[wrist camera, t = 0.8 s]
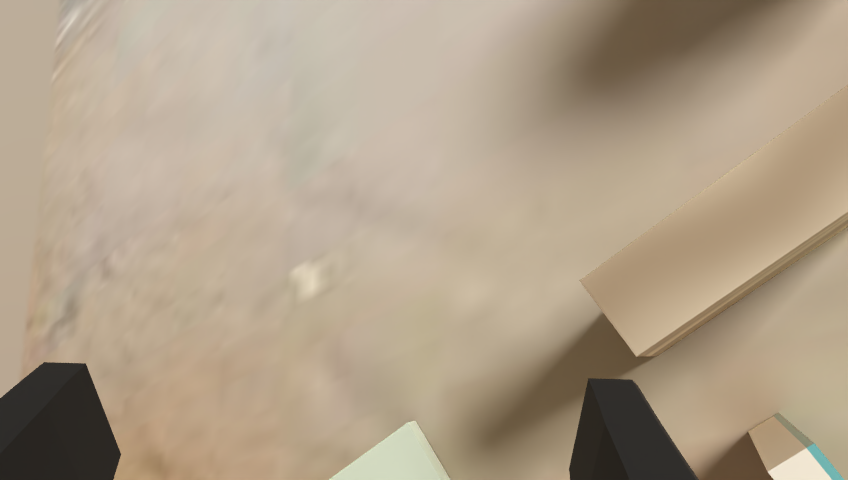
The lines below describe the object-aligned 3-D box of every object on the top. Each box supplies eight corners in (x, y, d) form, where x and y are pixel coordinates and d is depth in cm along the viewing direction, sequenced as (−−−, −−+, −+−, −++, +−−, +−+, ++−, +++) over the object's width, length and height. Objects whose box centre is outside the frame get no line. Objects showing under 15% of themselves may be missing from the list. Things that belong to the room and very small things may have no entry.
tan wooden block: (878, 205, 23) (955, 138, 16) (657, 355, 25) (636, 356, 18) (825, 151, 24) (875, 64, 17) (615, 301, 26) (579, 280, 19)
